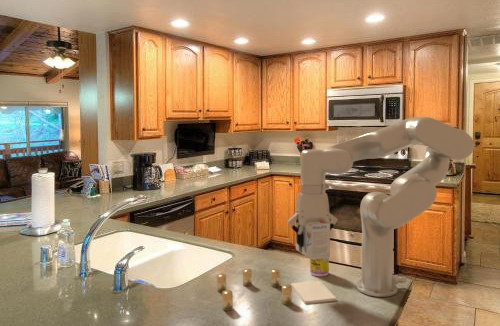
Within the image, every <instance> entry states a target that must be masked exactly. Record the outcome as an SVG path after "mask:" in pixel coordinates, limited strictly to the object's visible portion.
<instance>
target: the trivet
mask: <svg viewBox="0 0 500 326" xmlns="http://www.w3.org/2000/svg"><path fill="white" fill-rule="evenodd" d="M290 285H291V286H292V290H294V291H295V293H296V294H297V295H298V297H299V299H301V301H302V302H303V303H304V304H305V305H307V304H315V303H317V304H318V303H325V302H327V303H328V302H336V301H337V297H336V296H335V295H334V294H333V293H332V292H331V291H330V289H329V288H327V287H326V286H325V285H324V284H323V282H322V281H320V280H312V281H303V282H294V283H292V282H291V283H290Z"/></svg>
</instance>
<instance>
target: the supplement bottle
mask: <svg viewBox="0 0 500 326" xmlns="http://www.w3.org/2000/svg"><path fill="white" fill-rule="evenodd" d="M329 270H330V257H327V258H320V259H313V260H311V259H309V273H310V274H311V275H313V276H314V277H320V278H322V277H326V276H328V275H329V273H330V272H329Z"/></svg>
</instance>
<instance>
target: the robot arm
mask: <svg viewBox="0 0 500 326" xmlns="http://www.w3.org/2000/svg"><path fill="white" fill-rule="evenodd" d="M416 145H417V146H418V145H419V146H424V147H425V148H426V149H425V154H424V155H425V156H424V158H423V159H422V160H421V161H420V162H419V163H417V164H416V165H415V166H413V167H412V168H410V169H408V171H406V172H405V173H403V174H401V175H400V176H398V177H397V178H395V179H394V180H393V182H392V183H391V184H390V189H389V190H390V191H389V192H390V195H389V194H386V193H384V192H380V191H371V192H368V193H367V194H366V195H364V196H363V198H362V200H361V201H360V207H359V210H360V211H359V212H360V220H361V231H362V232H361V237H362V238H361V275H360V276H361V278H360V279H359V280H358V281H357V282H356V289H357V290H358V292H360V293H362V294H364V295H368V296H370V297H371V296H372V297H377V298H380V297H381V298H386V297H391V296H394V295H397V293H398V287H397V285H398V284H405V283H407V277H406V276H398V275H397V274H393V266H394V265H393V264H394V263H393V262H394V261H393V259H394V256H393V255H394V230H396V229H399V228H401V227H403V226H404V225H406V224H408V223H409V222H411V221H412V220H414V219H415V218H417V217H419V215H421V214H423V213H424V212H426V211H427V210H428V209H430V208H431V207H432V206H433V205H434V203H435V201H436V198H437V194H438V193H437V187H436V186H437V185H438V184H440V183H441V182H442V181H443V180H444V179H445V178H446V176H447V174H448V171H449V167H450V159H451V160H455V161H460V160H461V161H462V160H464V159H467V158H469V157H470V156H471V155H472V154H473V152H474V149H475V142H474V139H473V138H472V136H471V135H470V134H469V133H467V132H465V131H464V130H461V129H459V128H456V127H454V126H452V125H449V124H447V123H445V122H443V121H440V120H438V119H435V118H432V117H427V116H419V117H418V116H414V117H408V118H406V119H403V120H400V121H398V122H395V123H393V124H391V125H388V126H385V127H382V128H380V129H379V128H378V129H376V130H374V131H371V132H369V133H364V134H363V135H360V136H356V137H354V138H350V139H348V140H345V141H342V142H339V143H337V144H334V145H332V146H328V147H327V148H325V149H324V150H322V149H316V148H314V149H304V150H301V153H300V192H298V193H297V197H296V201H295V209H294V210H295V213H294V214H293V215H292V216H291V217H289V219H288V220H287V221H286V223H287V225H288V226H289V227H290V229H292V230H293V231H294V232H295V243H296V242H297V244H298V245H299V246H300V247H303V235H302V231H303V229H304V227H305V226H306V223H309V222H320V221H326V222H329V223H330V231H331V230H332V229H333V228H334V226H335V225H336V223H337V222H338V221H339V219H338V218H337V217H335V215H333V214H332V213H331V212H330V204H329V197H328V193H326V191H327V190H330V185H328V184H326V173H327V174H328V173H329V174H336V175H337V174H338V175H341V174H346V173H347V172H349V171H350V170H351V169H352V168H353V165H354V162H356V161H360V160H367V159H379V158H384V157H388V156H390V155H392V154H395V153H398V152H400V151H403V150H404V149H408V148H410V147H413V146H416ZM294 222H295V224H294ZM296 223H298V226H297V227H296Z"/></svg>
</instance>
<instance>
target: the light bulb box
mask: <svg viewBox="0 0 500 326" xmlns="http://www.w3.org/2000/svg"><path fill="white" fill-rule="evenodd" d="M295 226H296V227H297V226H298V223H296V222H295ZM302 235H303V247H300V246H299V245H298V244H297V242H296V241H295V251H297V252H299V253H300V254H302V255H303V256H305V257H306V258H308V259H309V260H310V259H311V260H313V259H320V258H327V257H329V258H330V254H331V230H330V221H329V222H326V221H320V222H309V223H306V226H305V227H304V229H303V231H302Z"/></svg>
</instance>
